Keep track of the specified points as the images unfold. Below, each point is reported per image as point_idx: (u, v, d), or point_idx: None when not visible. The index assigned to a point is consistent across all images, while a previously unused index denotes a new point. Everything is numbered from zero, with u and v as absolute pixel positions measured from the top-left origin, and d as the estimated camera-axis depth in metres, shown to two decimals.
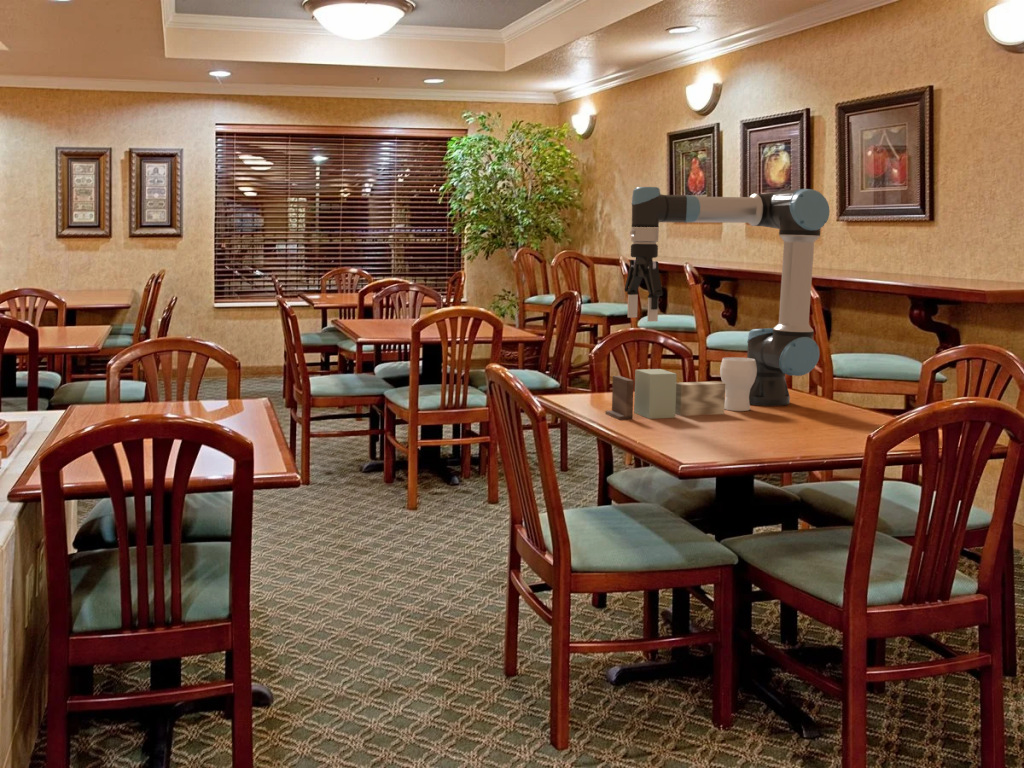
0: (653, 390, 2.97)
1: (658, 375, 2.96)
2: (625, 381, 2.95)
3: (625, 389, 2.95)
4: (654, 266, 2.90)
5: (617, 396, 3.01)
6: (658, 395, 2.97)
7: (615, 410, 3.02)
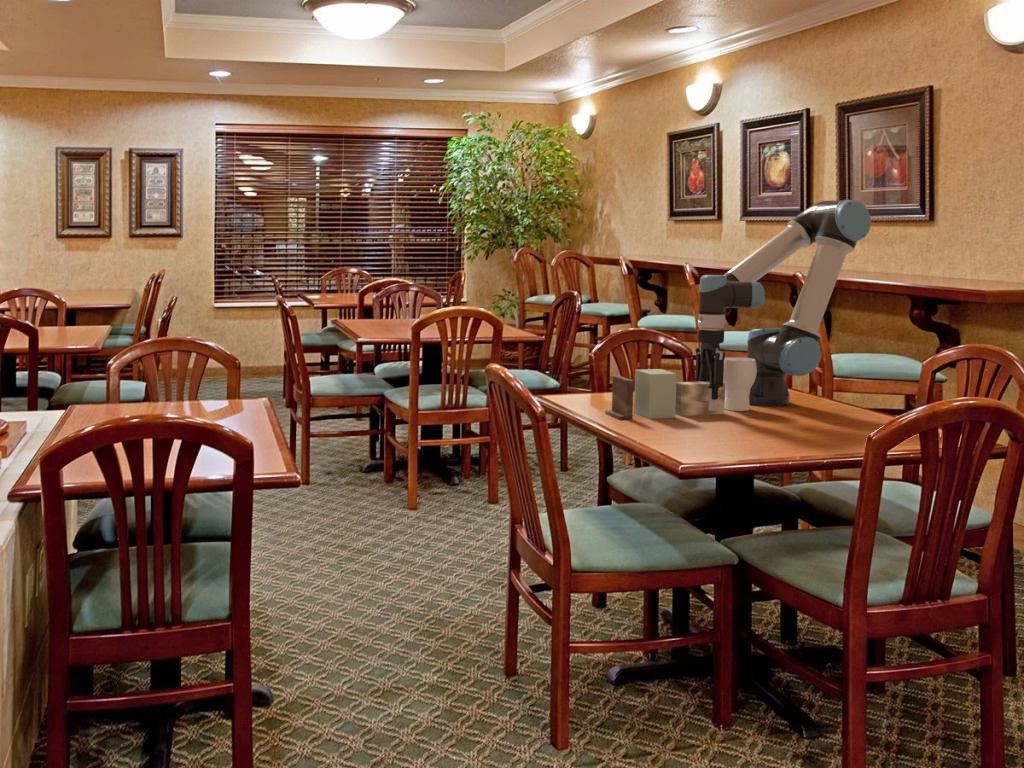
0: (653, 390, 2.97)
1: (658, 375, 2.96)
2: (625, 381, 2.95)
3: (625, 389, 2.95)
4: (720, 358, 3.00)
5: (617, 396, 3.01)
6: (658, 395, 2.97)
7: (615, 410, 3.02)
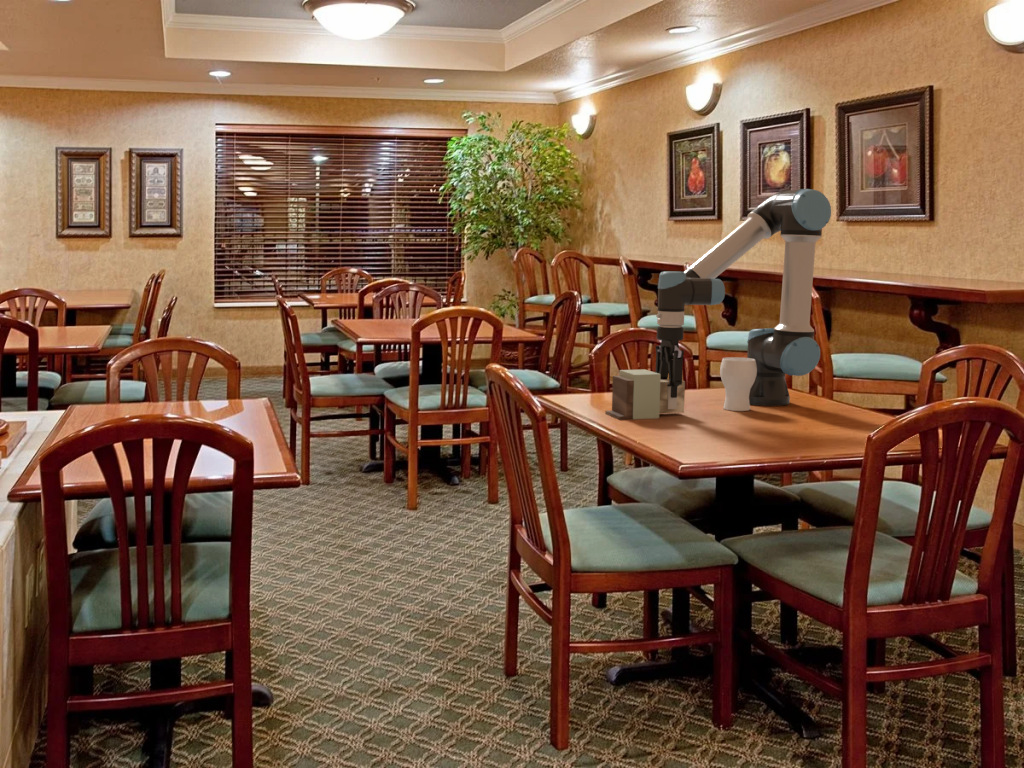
0: (636, 390, 2.95)
1: (642, 375, 2.95)
2: (625, 381, 2.95)
3: (625, 389, 2.95)
4: (679, 356, 2.96)
5: (617, 396, 3.01)
6: (642, 396, 2.96)
7: (615, 410, 3.02)
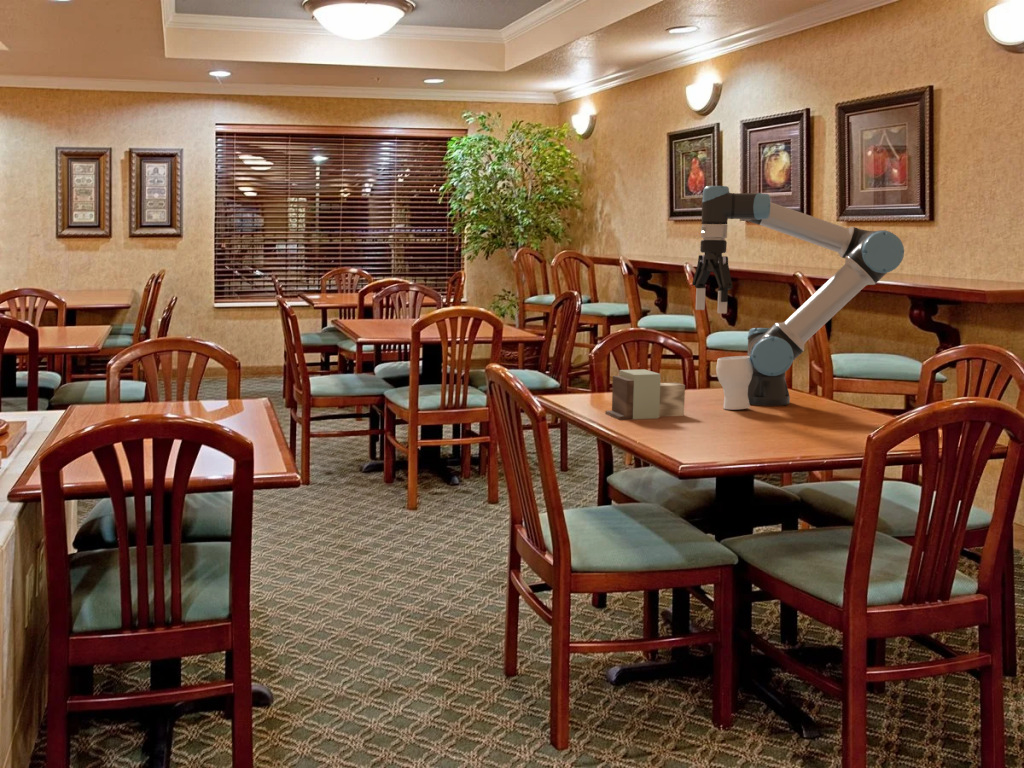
0: (636, 390, 2.95)
1: (642, 375, 2.95)
2: (625, 381, 2.95)
3: (625, 389, 2.95)
4: (724, 261, 3.07)
5: (617, 396, 3.01)
6: (642, 396, 2.96)
7: (615, 410, 3.02)
